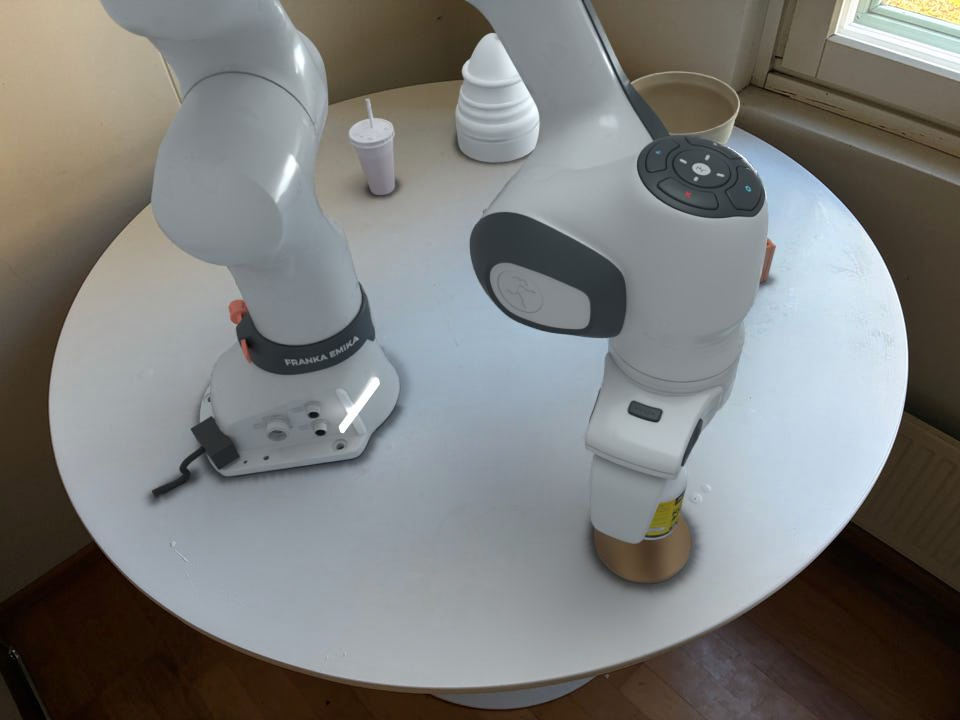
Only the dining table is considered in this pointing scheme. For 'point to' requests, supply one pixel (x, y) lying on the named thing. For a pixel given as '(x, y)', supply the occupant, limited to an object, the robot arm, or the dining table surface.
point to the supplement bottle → (668, 508)
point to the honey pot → (494, 107)
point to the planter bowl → (691, 103)
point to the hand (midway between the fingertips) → (653, 470)
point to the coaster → (646, 555)
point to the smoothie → (375, 151)
